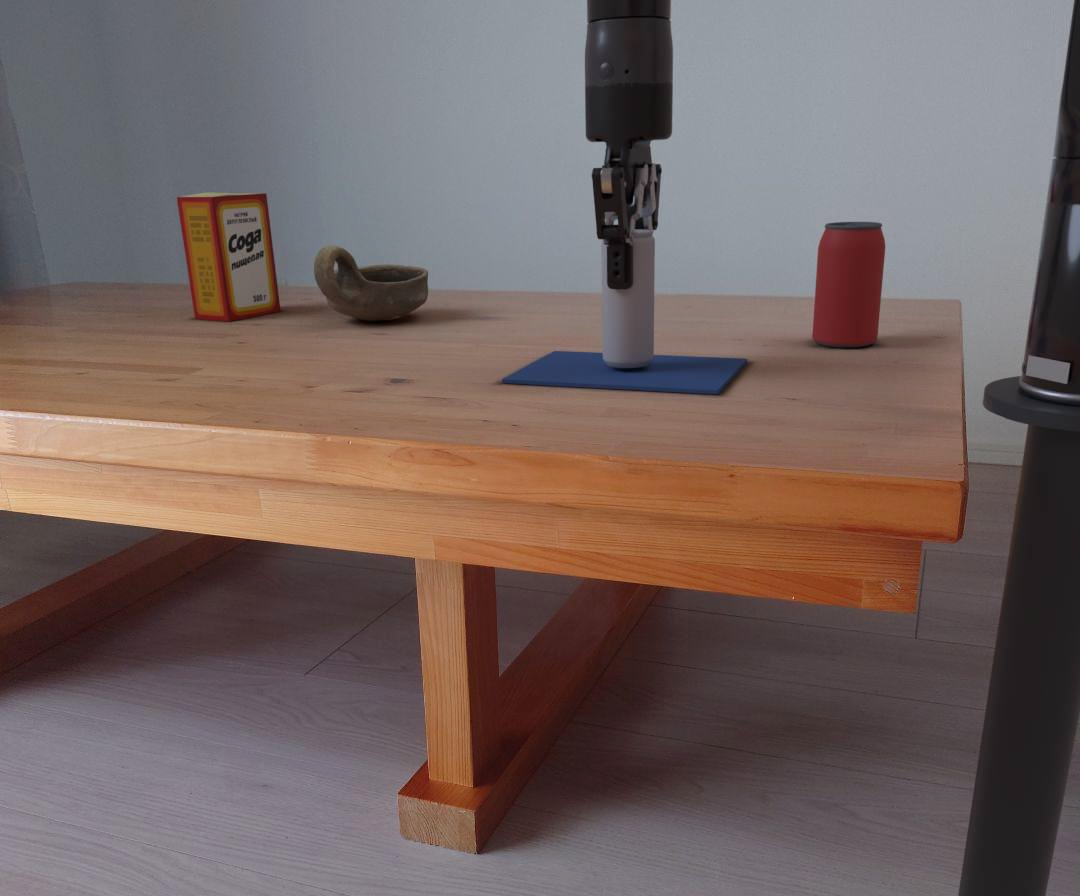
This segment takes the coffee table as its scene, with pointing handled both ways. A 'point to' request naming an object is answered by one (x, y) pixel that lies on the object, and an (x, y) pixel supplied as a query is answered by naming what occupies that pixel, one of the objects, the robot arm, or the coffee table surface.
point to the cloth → (630, 373)
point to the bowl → (369, 286)
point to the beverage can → (630, 309)
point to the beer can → (849, 284)
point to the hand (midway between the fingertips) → (628, 283)
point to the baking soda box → (229, 255)
